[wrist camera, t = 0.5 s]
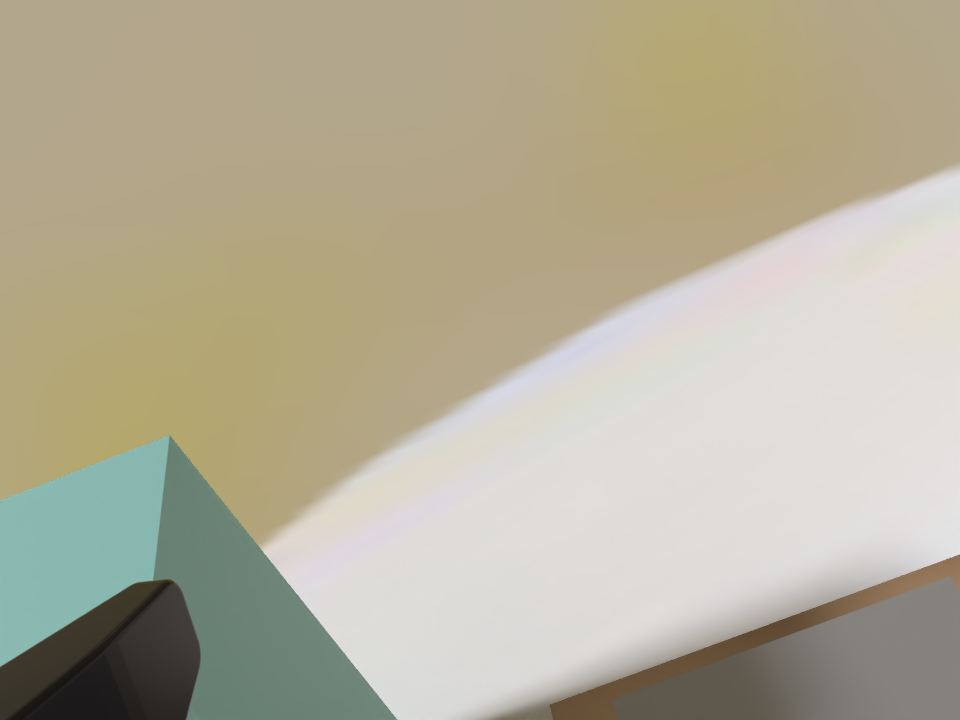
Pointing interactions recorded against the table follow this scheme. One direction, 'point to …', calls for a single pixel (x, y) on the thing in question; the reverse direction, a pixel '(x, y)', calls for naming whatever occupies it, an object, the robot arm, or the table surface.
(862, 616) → the charcoal tile
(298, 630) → the teal pillar
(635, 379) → the table surface
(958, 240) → the table surface
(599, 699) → the walnut slab
